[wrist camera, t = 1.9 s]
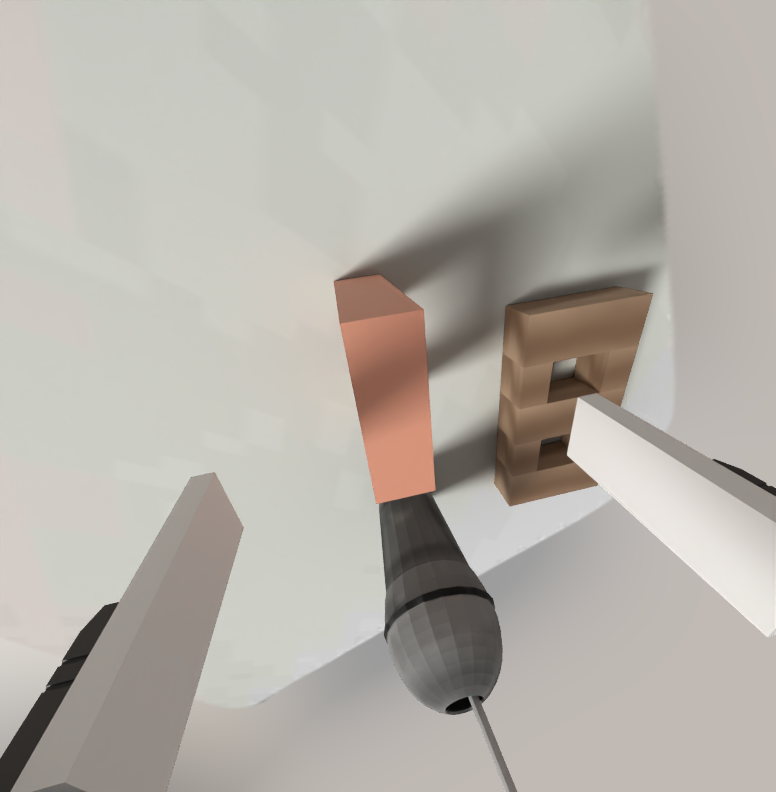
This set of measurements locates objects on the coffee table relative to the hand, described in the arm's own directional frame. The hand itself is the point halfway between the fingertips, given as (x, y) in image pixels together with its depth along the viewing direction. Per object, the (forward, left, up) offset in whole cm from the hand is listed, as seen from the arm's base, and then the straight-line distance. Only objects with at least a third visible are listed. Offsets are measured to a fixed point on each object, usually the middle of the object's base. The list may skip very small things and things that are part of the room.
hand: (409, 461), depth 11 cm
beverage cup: (+15, +1, -13) cm, 19 cm away
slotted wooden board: (+8, +15, -13) cm, 21 cm away
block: (0, 0, -13) cm, 13 cm away
